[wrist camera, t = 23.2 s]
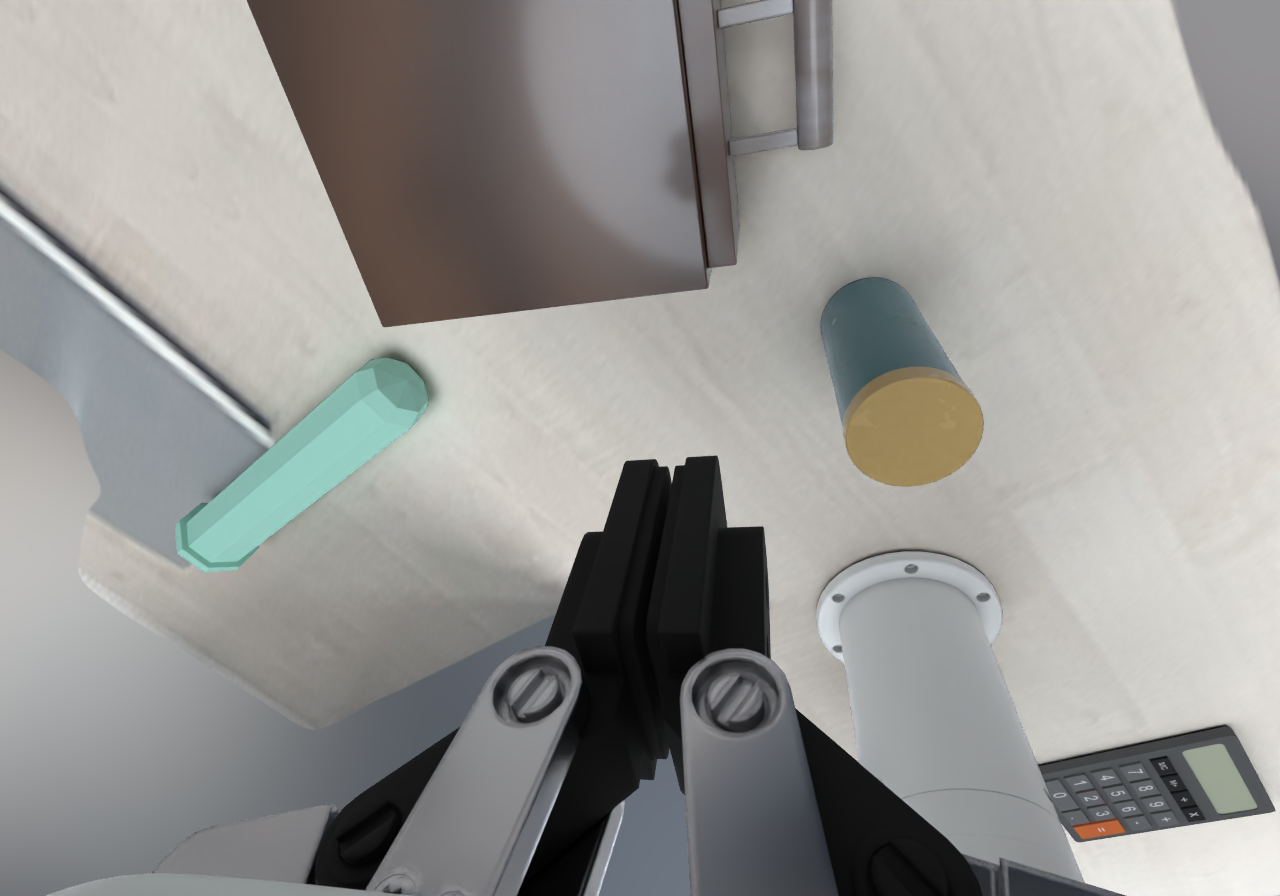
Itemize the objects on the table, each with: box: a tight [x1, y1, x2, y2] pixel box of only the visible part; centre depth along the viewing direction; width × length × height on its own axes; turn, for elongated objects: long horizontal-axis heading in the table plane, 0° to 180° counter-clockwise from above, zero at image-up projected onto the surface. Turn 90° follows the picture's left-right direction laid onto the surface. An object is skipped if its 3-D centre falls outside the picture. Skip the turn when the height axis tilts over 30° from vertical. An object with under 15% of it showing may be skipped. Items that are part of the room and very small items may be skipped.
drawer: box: [677, 0, 833, 268], centre depth 26 cm, size 19×13×7 cm
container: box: [175, 357, 429, 572], centre depth 44 cm, size 6×6×25 cm
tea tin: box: [821, 278, 984, 486], centre depth 29 cm, size 5×5×12 cm
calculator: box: [1038, 727, 1275, 842], centre depth 51 cm, size 12×1×15 cm
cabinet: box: [247, 0, 712, 327], centre depth 27 cm, size 16×14×9 cm
